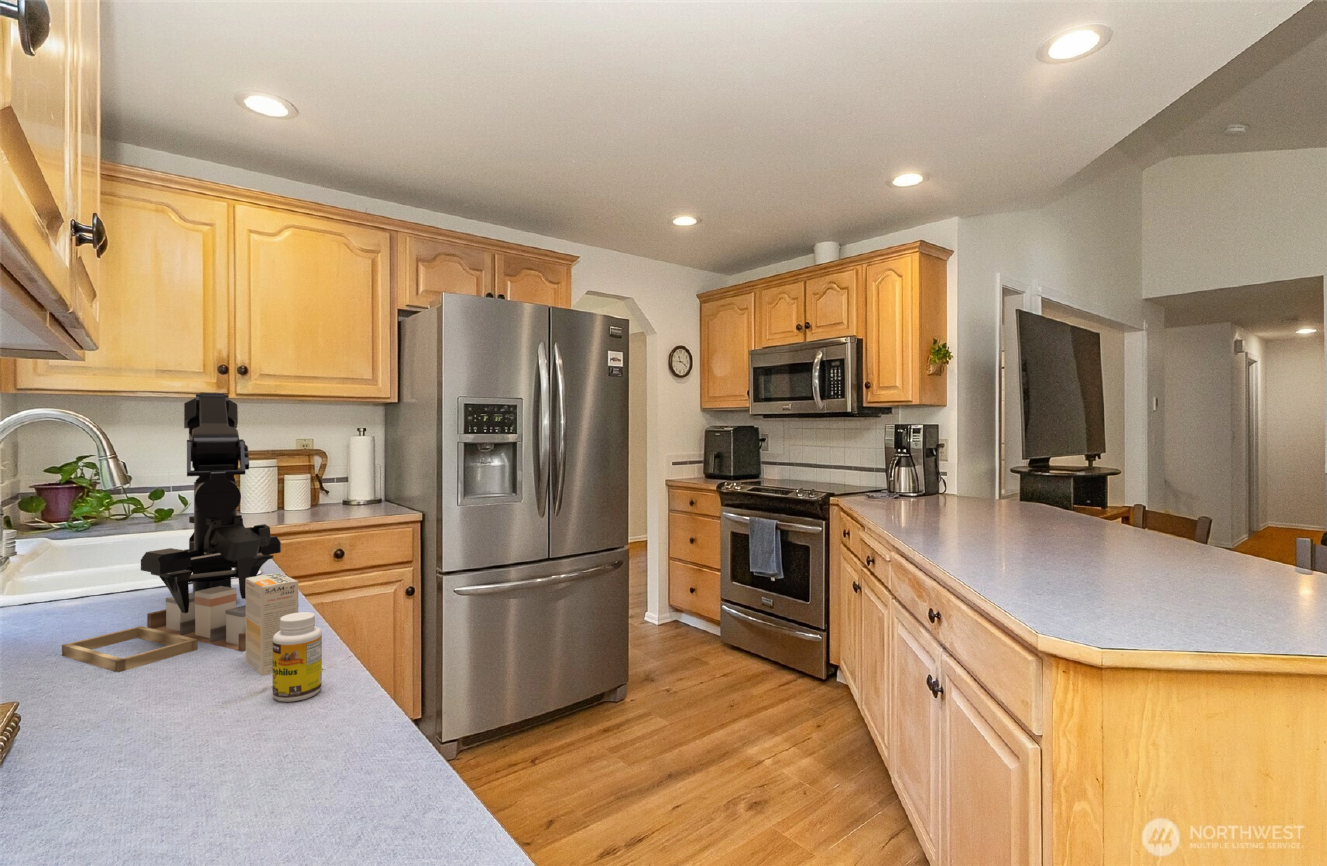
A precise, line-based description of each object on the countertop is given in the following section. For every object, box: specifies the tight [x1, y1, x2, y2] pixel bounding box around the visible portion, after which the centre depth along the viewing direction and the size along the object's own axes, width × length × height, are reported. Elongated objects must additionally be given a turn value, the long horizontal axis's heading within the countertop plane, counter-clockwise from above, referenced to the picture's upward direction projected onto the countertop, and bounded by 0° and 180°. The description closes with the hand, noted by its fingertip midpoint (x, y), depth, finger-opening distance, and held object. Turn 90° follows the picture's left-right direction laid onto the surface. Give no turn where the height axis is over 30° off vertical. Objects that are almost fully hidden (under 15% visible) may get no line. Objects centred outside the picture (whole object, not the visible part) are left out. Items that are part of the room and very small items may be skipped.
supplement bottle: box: [271, 611, 323, 703], centre depth 84 cm, size 6×6×10 cm
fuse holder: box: [146, 608, 246, 653], centre depth 105 cm, size 25×7×4 cm, turn 65°
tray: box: [61, 625, 198, 673], centre depth 96 cm, size 15×10×2 cm, turn 65°
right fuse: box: [226, 604, 246, 645], centre depth 101 cm, size 4×4×5 cm
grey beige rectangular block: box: [165, 591, 195, 631], centre depth 108 cm, size 4×4×5 cm
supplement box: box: [245, 572, 299, 676], centre depth 92 cm, size 8×5×13 cm, turn 47°
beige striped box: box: [195, 586, 238, 638], centre depth 105 cm, size 4×4×7 cm
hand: (215, 605), depth 105 cm, fingers open, 9 cm apart
